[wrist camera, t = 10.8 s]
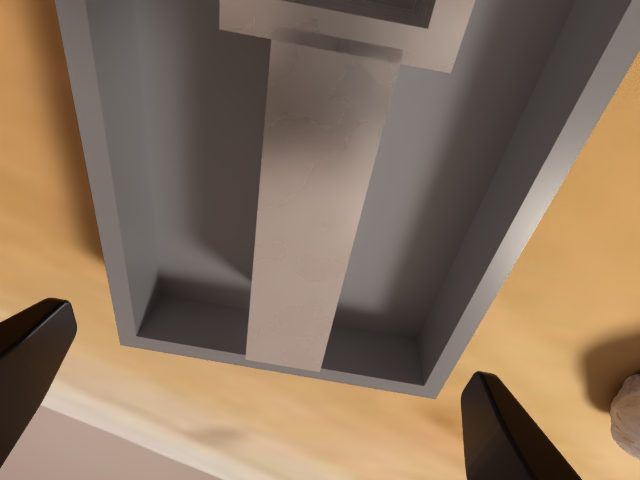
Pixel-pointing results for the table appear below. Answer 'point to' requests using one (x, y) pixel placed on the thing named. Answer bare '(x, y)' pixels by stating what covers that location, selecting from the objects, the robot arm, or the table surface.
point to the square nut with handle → (324, 148)
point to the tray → (383, 190)
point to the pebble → (627, 416)
